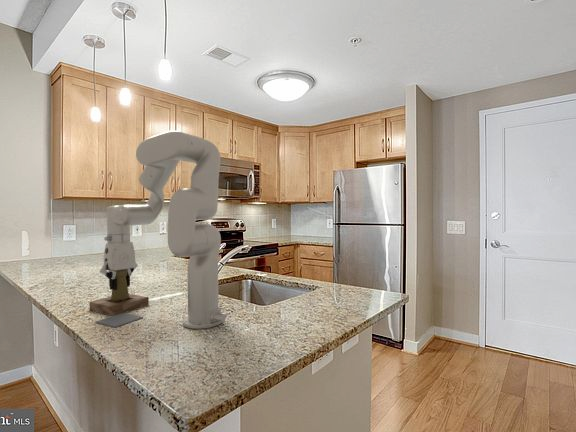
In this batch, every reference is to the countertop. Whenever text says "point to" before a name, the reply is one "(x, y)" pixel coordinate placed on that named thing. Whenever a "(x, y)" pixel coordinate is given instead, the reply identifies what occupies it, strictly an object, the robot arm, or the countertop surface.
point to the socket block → (118, 304)
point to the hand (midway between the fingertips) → (120, 287)
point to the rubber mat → (119, 320)
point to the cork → (120, 286)
